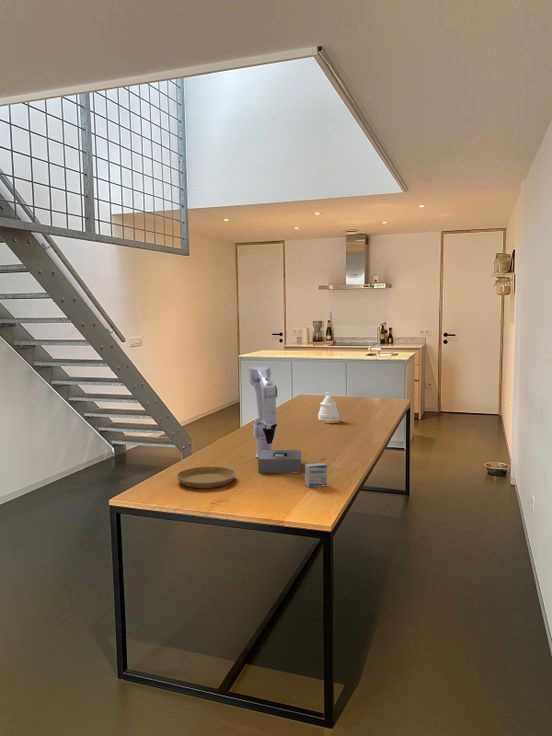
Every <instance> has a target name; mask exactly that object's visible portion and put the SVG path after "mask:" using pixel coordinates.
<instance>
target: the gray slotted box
mask: <svg viewBox="0 0 552 736" xmlns="http://www.w3.org/2000/svg"><path fill="white" fill-rule="evenodd" d="M275 454H284V456H275ZM257 459H258V460H257V465H258V466H257V467H258V469H257V471H258V473H259V474H261V473H263V474H264V473H267V474H273V473H274V474H277V473H279V474H296V473H295V472H300V473H301V469H300V468H302V450H301V449H272V450H262V451H261V453H260V456H259V458H257ZM292 472H294V473H292Z"/></svg>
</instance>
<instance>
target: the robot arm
mask: <svg viewBox="0 0 552 736" xmlns="http://www.w3.org/2000/svg"><path fill="white" fill-rule="evenodd" d="M248 370H249V371H248V377H249V382H250V385H251V386H253V388H254V390H255V398H256V399H255V400H256V407H257V410H256V411H257V418H256V419H255V420H254V421H253V423H252V424H253V425H252V426H253V428H252V431H253V436H254V438H256V454H255V457H254V458H257V459H258V458H259V456H260V453H261V451H262V450H273V447H272V446H273V441H274V438H275V435H276V428H277V426H278V422H277V399H276V398H277V397H278V388H277V384H273V381H272V379H271V368H270V365H266V366H265V365H264V366H250V367H249V369H248Z"/></svg>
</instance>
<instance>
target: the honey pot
mask: <svg viewBox="0 0 552 736" xmlns="http://www.w3.org/2000/svg"><path fill="white" fill-rule="evenodd" d="M324 394H325V396H324V399H323V400H322V402H320V403H319V404H320V408H319V412H318V413H317V414H318V415H317V416H318V418H317V420H318V419H319V420H325V421H332V420H338V419H339V420H340V413H339V410H338V407H337V403H336V402H335V400H334V398H333V397H332V396H331V395H330V392H325V393H324Z"/></svg>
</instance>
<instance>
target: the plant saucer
mask: <svg viewBox="0 0 552 736" xmlns="http://www.w3.org/2000/svg"><path fill="white" fill-rule="evenodd" d="M236 476H237V472H236V471H235V470H233V469H231V468H227V467H220V466H198V467H191V468H188V469H184V470H181V471H179V472H178V473H177V474H176V478H177V479H178V481H179V482H180V483H181V484H182V485H183V486H186V487H189V488H193V489H194V488H195V489H214V488H219V486H220V487H224V486H225V485H228V484H229V483H231V482H232V481H233V480H234V479H235V477H236ZM213 487H214V488H213Z"/></svg>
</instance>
